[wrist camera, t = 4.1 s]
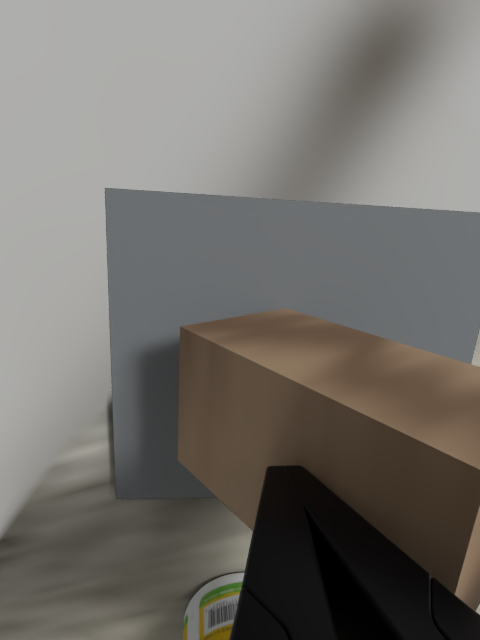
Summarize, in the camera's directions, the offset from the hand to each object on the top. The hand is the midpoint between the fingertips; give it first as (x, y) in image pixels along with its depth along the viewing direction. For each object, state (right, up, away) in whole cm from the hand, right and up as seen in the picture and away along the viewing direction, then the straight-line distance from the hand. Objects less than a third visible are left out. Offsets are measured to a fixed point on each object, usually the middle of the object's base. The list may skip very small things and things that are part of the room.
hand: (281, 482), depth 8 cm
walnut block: (-1, +2, +5) cm, 5 cm away
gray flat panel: (+1, +2, +7) cm, 7 cm away
